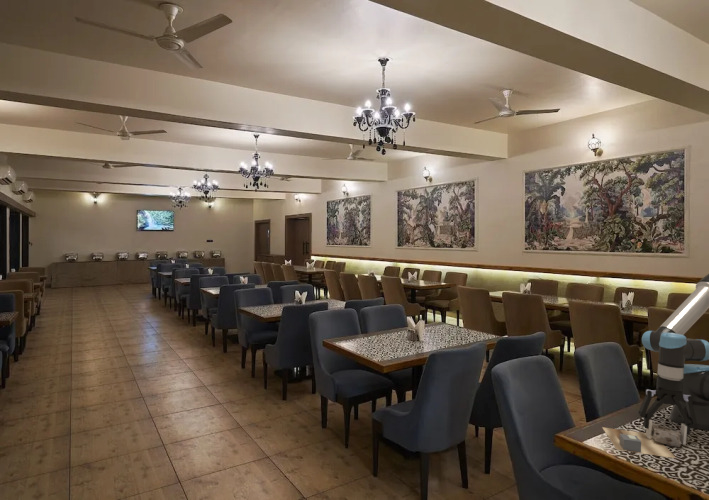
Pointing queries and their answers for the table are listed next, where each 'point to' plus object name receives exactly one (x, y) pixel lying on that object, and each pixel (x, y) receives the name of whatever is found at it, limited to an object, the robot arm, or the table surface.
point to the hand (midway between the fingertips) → (665, 440)
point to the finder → (630, 443)
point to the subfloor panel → (646, 444)
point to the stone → (666, 435)
